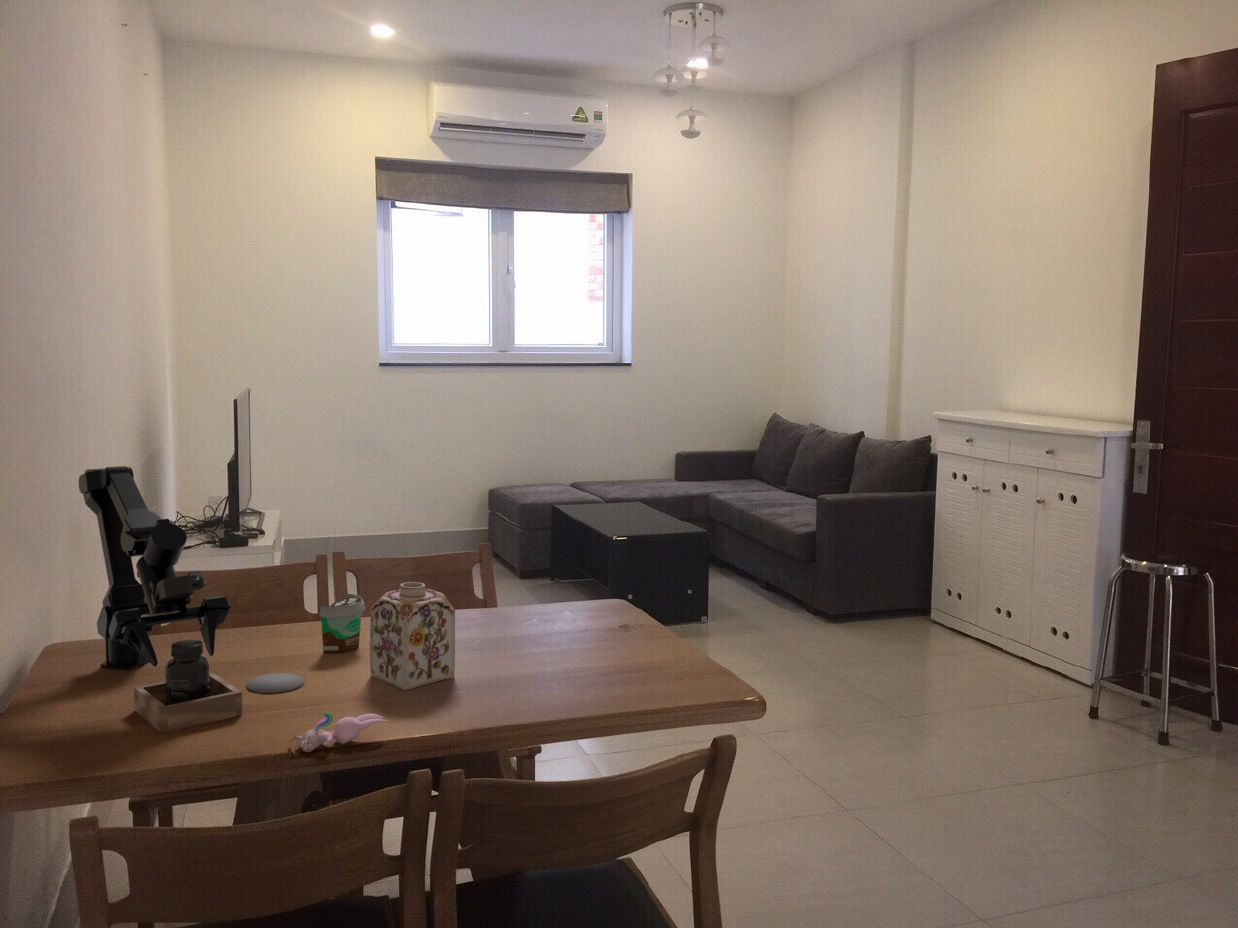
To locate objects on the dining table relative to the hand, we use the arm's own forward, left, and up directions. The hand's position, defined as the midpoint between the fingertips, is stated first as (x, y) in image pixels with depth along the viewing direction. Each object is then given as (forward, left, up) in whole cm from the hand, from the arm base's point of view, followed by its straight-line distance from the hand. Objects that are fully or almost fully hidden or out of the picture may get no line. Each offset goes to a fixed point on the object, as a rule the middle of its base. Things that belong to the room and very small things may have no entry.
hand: (184, 659), depth 169 cm
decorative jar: (+29, +27, -9) cm, 41 cm away
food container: (+9, +40, -9) cm, 42 cm away
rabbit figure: (+31, -6, -9) cm, 33 cm away
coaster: (+7, +16, -9) cm, 20 cm away
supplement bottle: (+1, -1, -9) cm, 9 cm away
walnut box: (+1, -1, -9) cm, 9 cm away
